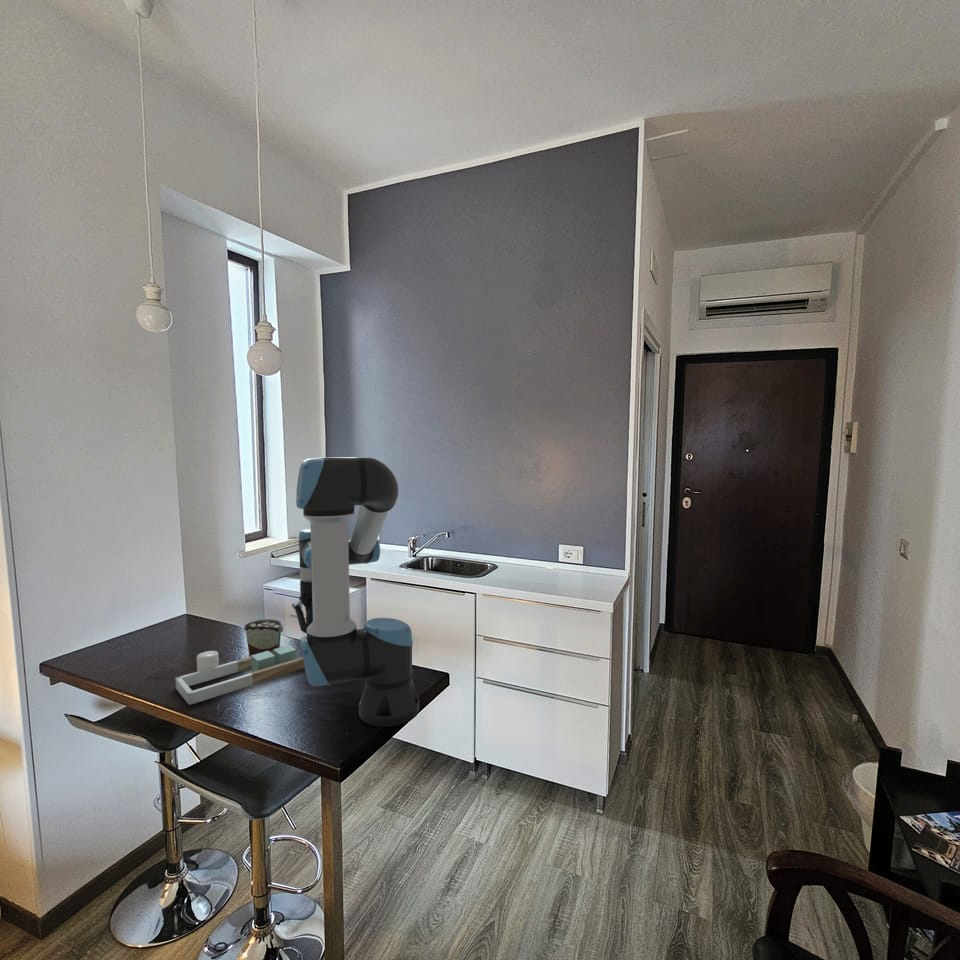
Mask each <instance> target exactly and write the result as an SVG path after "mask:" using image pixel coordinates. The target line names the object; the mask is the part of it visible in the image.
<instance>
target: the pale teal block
mask: <svg viewBox="0 0 960 960" xmlns="http://www.w3.org/2000/svg"><path fill="white" fill-rule="evenodd" d="M273 655H275V665H277V664H280V663H284V662H287V661H290V660H294V659H297V649H296V648H295V647H294V648H293V647H292V646H291V645H290V644H287V645H284V646H280V648H276V649H273Z"/></svg>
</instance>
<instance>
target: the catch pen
mask: <svg viewBox="0 0 960 960" xmlns="http://www.w3.org/2000/svg"><path fill="white" fill-rule="evenodd" d="M234 673H239V672H238V662H237V660H234V661H230V662H227V663H223V664H219V666H216V667H212V668H208V669H205V670H201V671H198V672H197V671H195V672H191V673H188V674H187V673H186V674H184V675H179V676H178V677H177V676H176V677H174V678H175V679H174V680H175V681H174V682H175V689H176V690H177V692H178V693H179V694H180V696H181V697H182V699H184V701H185V702H186V703H187V704H188V705H189V706H191V705H194V704H197V703H200V702H203V701H207V700H210V699H213V698H216V697H219V696H223V695H225V694H229V693H231V692H236V691H238V690H241V689H244V688H247V687H251V686H254V685H253V677H252V674H251V673H250V672H249V673H246V674H243V675H241V676H237V677H234V678H230V679H227V680H223V681H220V682H216V683H213V684H211V685H207V686H204V687H201V688H197V689H194V690H192V688H190V687H191V686H194V685H198V684H202V683H205V682H208V681H212V680H216V679H218V678H222V677H224V676H225V677H226V676H228V675H233V674H234Z"/></svg>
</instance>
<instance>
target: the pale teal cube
mask: <svg viewBox="0 0 960 960" xmlns="http://www.w3.org/2000/svg"><path fill="white" fill-rule="evenodd" d="M250 657H251V661H252V669H251V672H254V671H257V670H260V669H264V668H267V667H270V666H274V665H275V655H273V654H272V653H271V652H269V651H266V652H262V653H258V654H255V655H251V656H250Z"/></svg>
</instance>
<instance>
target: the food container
mask: <svg viewBox="0 0 960 960" xmlns="http://www.w3.org/2000/svg"><path fill="white" fill-rule="evenodd" d="M243 631H244V632H245V636H246V642H247V643H246V645H247V651H248V657H251V655H255V654H258V653H262V652H266V651H273V649H276V648H280V647H281V634H282V633H283V631H284V628H283V623H282V622H281V621H280V620H277V619H273V618H269V619H268V618H265V619H264V618H263V619H258V620H253V621H249V622H248V623H246V624H245V625H244V626H243Z"/></svg>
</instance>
